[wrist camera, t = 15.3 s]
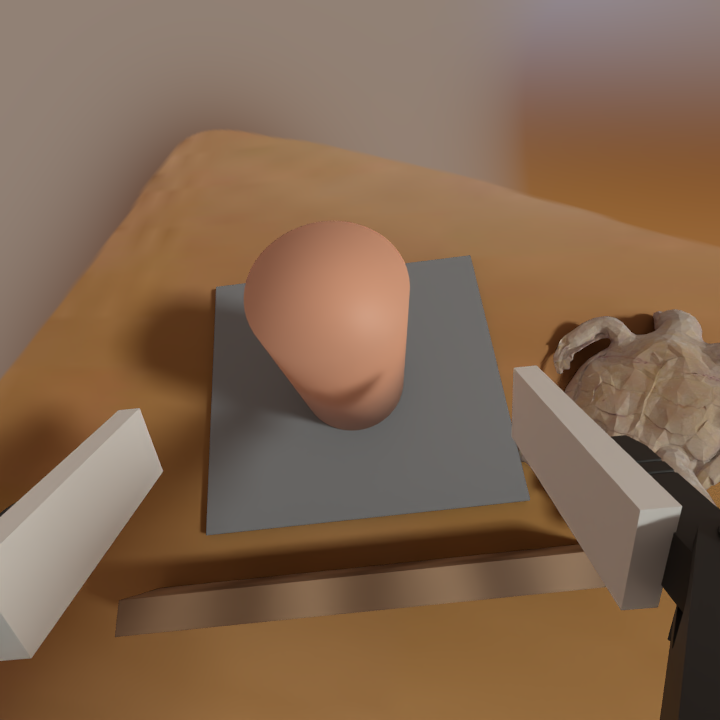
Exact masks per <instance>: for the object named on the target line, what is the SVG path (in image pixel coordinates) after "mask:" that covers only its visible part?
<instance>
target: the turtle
mask: <svg viewBox="0 0 720 720" xmlns="http://www.w3.org/2000/svg"><path fill="white" fill-rule="evenodd" d="M653 318H654V329H655V331H654V332H651V333H648V334H645V335H636V334H634V333H632V332H631V331H630V330H629V329H628V328H627V327H626V326H625V325H624V323H623V322H621V321H619V320H618V319H617V318H613V317H608V316H603V317H598V318H593V319H591V320H588V321H586V322H584V323H582V324H580V325H579V326H578V327H577V328H575V329H574V330H572V331H571V332H570V333H568V334H567V335H565V336H564V337H563V338H562V339H561V340H560V342H559V345H558V347H557V350H556V352H555V354H554V363H555V368H556V371H557V373H559V374H561V373H563V370H564V369H570V361H572V360H573V356H574V353H576V352H578V351H580V350H581V349H583V348H584V347H586V346H587V345H589V344H591V343H593V342H595V341H597V340H600V339H603V338H609V339H610V340H611V343H610V345H609V347H608V348H606V349H604V350H602V351H601V352H599V353H597V354H596V355H594V356H592V357H591V358H589V359H588V360H587V361H586V362H585V363H584V364H583V365H582V366H581V367H580V368H579V369H578V371H577V372H576V374H575V375H574V377H573V378H572V380H571V381H570V383H569V384H568V386H567V387H566V389H565V392H564V393H566V395H567V396H569V397H570V398H571V399H572V400H573V401H574V402H575V403H576V404H577V405H578V406H579V407H580V408H581V409H582V410H583V411H584V412H585V413H586V414H587V415H588V416H589V417H590V418H591V419H592V420H593V421H594V422H595V423H597V424H598V425H599V426H600V427H601V428H602V429H603V430H604V431H605V432H606V433H607V434H608V435H609V436H610V437H611V436H621V435H627V436H629V437H631V438H633V439H635V440H637V441H639V442H641V443H643V444H645V445H647V446H648V447H649V448H650V449H651V450H652V451H653V452H655V453H656V454H657V455H658V456H659V457H660V458H661V460H662V461H665V462H666V463H667V464H668V465H669V466H671V467H672V468H673V469H674V472H677V473H679V474H680V475H681V476H682V477H683V478H684V479H685V480H687V481H688V482H689V483H690V484H691V485H692V486H693V487H695V488H696V489H697V490H698V491H699V492H700V493H701V494H703V495H704V496H705V497H706V498H707V499H708V500H709V501H711V502H712V503H713V504H714V505H715V503H714V501H713V500H712V498H711V497H710V495H709V494H708V493H707V491H706V490H707V489H708V488H709V487H710V486H712V485H716V484H717V483H718V482H720V343H714V344H707V343H705V342H704V341H703V340H702V329H701V325H700V324H699V323H698V321H697V320H696V318H695V317H693V316H692V315H690V314H688V313H686V312H683V311H681V310H675V309H674V310H668V311H665V312H661V311H658V312H655V313H654V314H653ZM519 456H520V460H521V461H522V462H526V463H527V464H528V465H529V463H528V462H527V460H526V459H525V457H524V456H523V454H522V452H521V451H519ZM529 466H530V465H529ZM715 506H716V505H715ZM716 507H717V506H716Z"/></svg>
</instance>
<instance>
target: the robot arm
mask: <svg viewBox="0 0 720 720" xmlns="http://www.w3.org/2000/svg"><path fill="white" fill-rule="evenodd" d="M511 436H512V438H513V440H514V441H515V443H516V444H517V446H518V448H519V449H520V451H521V452H522V454H523V456H524V457H525V459H526V460H527V462H528V463H529V465H530V467H531V468H532V470H533V471H534V473H535V475H536V476H537V478H538V479H539V481H540V482H541V484H542V486H543V487H544V489H545V490H546V492H547V494H548V495H549V497H550V498H551V500H552V501H553V503H554V505H555V506H556V508H557V509H558V511H559V513H560V514H561V516H562V517H563V519H564V521H565V522H566V524H567V525H568V527H569V528H570V530H571V532H572V533H573V535H574V536H575V538H576V540H577V541H578V543H579V544H580V546H581V547H582V549H583V551H584V552H585V554H586V555H587V557H588V559H589V560H590V562H591V563H592V565H593V566H594V568H595V570H596V571H597V573H598V574H599V576H600V578H601V579H602V581H603V582H604V584H605V586H606V587H607V589H608V590H609V592H610V593H611V595H612V597H613V598H614V600H615V601H616V603H617V605H618V606H619V608H620V609H621V610H630V609H642V608H655V607H658V605H659V600H660V596H661V592H662V588H664V589H665V590H666V592H667V593H668V594H669V596H670V597H671V598H672V599H673V601H674V602H675V603H676V605H677V606H676V610H675V614H674V617H673V621H672V625H671V629H670V632H669V636H668V640H669V641H671V642H670V649H669V656H668V664H667V671H666V678H665V686H664V693H663V700H662V708H661V715H660V720H720V509H719V508H718V507H716V506H715V505H714V504H713V503H712V502H711V501H709V500H708V499H707V498H706V497H705V496H704V495H703V494H701V493H700V492H699V491H698V490H697V489H696V488H695V487H693V486H692V485H691V484H690V483H689V482H688V481H687V480H685V479H684V478H683V477H682V476H681V475H680V474H679V473H677V472H674V469H673V468H672V467H671V466H669V465H668V464H667V463H666V462H665V461H662V460H661V458H660V457H659V456H658V455H657V454H656V453H655V452H653V451H652V450H651V449H650V448H649V447H648V446H647V445H645V444H643V443H641V442H639V441H637V440H635V439H633V438H631V437H629V436H627V435H621V436H611V437H610V436H609V435H608V434H607V433H606V432H605V431H604V430H603V429H602V428H601V427H600V426H599V425H598V424H597V423H595V422H594V421H593V420H592V419H591V418H590V417H589V416H588V415H587V414H586V413H585V412H584V411H583V410H582V409H581V408H580V407H579V406H578V405H577V404H576V403H575V402H574V401H573V400H572V399H571V398H570V397H569V396H567V395H566V394H565V393H564V392H563V391H562V390H561V389H560V388H559V387H558V386H557V385H556V384H555V383H554V382H553V381H552V380H551V379H550V378H549V377H548V376H547V375H546V374H545V373H544V372H543V371H542V370H541V369H539V368H538V367H537V366H527V367H518V368H514V372H513V403H512V435H511ZM162 472H163V470H162V467H161V464H160V462H159V459H158V456H157V454H156V451H155V448H154V446H153V443H152V440H151V438H150V435H149V432H148V430H147V427H146V424H145V422H144V419H143V416H142V414H141V411H140V408H137V409H127V410H118V411H117V412H116V413H115V414H114V415H113V416H112V417H111V418H110V419H108V420H107V421H106V422H105V423H104V424H103V425H102V426H101V427H100V428H98V429H97V430H96V431H95V432H94V433H93V434H92V435H91V436H90V437H89V438H87V439H86V440H85V441H84V442H83V443H82V444H81V445H80V446H79V447H77V448H76V449H75V450H74V451H73V452H72V453H71V454H70V455H69V456H67V457H66V458H65V459H64V460H63V461H62V462H61V463H60V464H59V465H57V466H56V467H55V468H54V469H53V470H52V471H51V472H50V473H49V474H47V475H46V476H45V477H44V478H43V479H42V480H41V481H40V482H39V483H37V484H36V485H35V486H34V487H33V488H32V489H31V490H30V491H29V492H27V493H26V494H25V495H24V496H23V497H22V498H21V499H20V500H19V501H17V502H16V503H14V504H12V505H11V506H9V507H8V508H6V509H5V510H3V511H2V512H1V513H0V661H5V660H17V659H29V658H32V657H33V655H34V654H35V652H36V651H37V650H38V648H39V647H40V645H41V644H42V643H43V641H44V640H45V638H46V637H47V635H48V634H49V633H50V631H51V630H52V628H53V627H54V626H55V624H56V623H57V621H58V620H59V618H60V617H61V616H62V614H63V613H64V611H65V610H66V608H67V607H68V606H69V604H70V603H71V601H72V600H73V599H74V597H75V596H76V594H77V593H78V591H79V590H80V589H81V587H82V586H83V584H84V583H85V582H86V580H87V579H88V577H89V576H90V574H91V573H92V572H93V570H94V569H95V567H96V566H97V565H98V563H99V562H100V560H101V559H102V557H103V556H104V555H105V553H106V552H107V550H108V549H109V547H110V546H111V545H112V543H113V542H114V540H115V539H116V538H117V536H118V535H119V533H120V532H121V530H122V529H123V528H124V526H125V525H126V523H127V522H128V521H129V519H130V518H131V516H132V515H133V513H134V512H135V511H136V509H137V508H138V506H139V505H140V504H141V502H142V501H143V499H144V498H145V496H146V495H147V494H148V492H149V491H150V489H151V488H152V486H153V485H154V484H155V482H156V481H157V479H158V478H159V477H160V475H161V474H162Z"/></svg>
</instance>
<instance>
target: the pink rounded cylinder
mask: <svg viewBox="0 0 720 720" xmlns="http://www.w3.org/2000/svg"><path fill="white" fill-rule="evenodd" d="M409 295H410V281H409V275H408V271H407V267H406V265H405V262H404V260H403V258H402V257H401V255H400V253H399V252H398V250H397V249H396V248H395V247H394V246H393V244H391V243H390V242H389V241H388V240H387V239H386V238H385V237H383V236H382V235H380V234H379V233H377V232H376V231H374V230H372V229H370V228H367V227H365V226H362V225H359V224H355V223H351V222H344V221H322V222H316V223H311V224H307V225H304V226H301V227H298V228H296V229H293V230H291V231H289V232H287V233H286V234H284V235H282V236H281V237H279V238H278V239H276V240H275V241H274V242H272V243H271V244H270V245H269V246H268V247H267V248H266V249H265V250H264V251H263V252H262V253H261V254H260V256H259V257H258V258H257V260H256V261H255V263H254V264H253V266H252V268H251V270H250V272H249V275H248V277H247V280H246V284H245V288H244V309H245V314H246V318H247V321H248V323H249V326H250V327H251V329H252V331H253V333H254V334H255V336H256V337H257V338H258V340H259V341H260V342H261V344H262V345H263V346H264V348H265V349H266V350H267V352H268V353H269V354H270V356H271V357H272V358H273V360H274V361H275V362H276V364H277V365H278V366H279V368H280V369H281V370H282V372H283V373H284V374H285V376H286V377H287V378H288V380H289V381H290V382H291V384H292V385H293V386H294V388H295V389H296V390H297V392H298V393H299V394H300V396H301V397H302V398H303V400H304V401H305V402H306V404H307V405H308V406H309V408H310V409H311V410H312V412H313V413H314V414H315V415H316V416H317V417H318V418H319V419H320V420H321V421H323V422H324V423H326V424H328V425H330V426H332V427H334V428H337V429H342V430H350V431H353V430H362V429H366V428H369V427H372V426H374V425H376V424H378V423H380V422H381V421H383V420H384V419H385V418H387V417H388V416H389V415H390V414H391V413H392V411H393V410H394V409H395V407H396V406H397V404H398V402H399V400H400V398H401V395H402V391H403V383H404V368H405V353H406V339H407V324H408V309H409Z"/></svg>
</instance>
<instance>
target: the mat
mask: <svg viewBox="0 0 720 720" xmlns="http://www.w3.org/2000/svg"><path fill="white" fill-rule="evenodd" d="M405 265H406V267H407V271H408V275H409V281H410V295H409V309H408V324H407V339H406V353H405V368H404V383H403V391H402V395H401V398H400V400H399V402H398V404H397V406H396V407H395V409H394V410H393V411H392V413H391V414H390V415H389V416H388V417H387V418H385V419H384V420H383V421H381V422H380V423H378V424H376V425H374V426H372V427H369V428H366V429H362V430H353V431H350V430H342V429H337V428H334V427H332V426H330V425H328V424H326V423H324V422H323V421H321V420H320V419H319V418H318V417H317V416H316V415H315V414H314V413H313V412H312V410H311V409H310V408H309V406H308V405H307V404H306V402H305V401H304V400H303V398H302V397H301V396H300V394H299V393H298V392H297V390H296V389H295V388H294V386H293V385H292V384H291V382H290V381H289V380H288V378H287V377H286V376H285V374H284V373H283V372H282V370H281V369H280V368H279V366H278V365H277V364H276V362H275V361H274V360H273V358H272V357H271V356H270V354H269V353H268V352H267V350H266V349H265V348H264V346H263V345H262V344H261V342H260V341H259V340H258V338H257V337H256V336H255V334H254V333H253V331H252V329H251V327H250V326H249V323H248V321H247V318H246V314H245V309H244V288H245V284H246V283H245V284H237V285H229V286H221V287H216V305H215V330H214V354H213V379H212V404H211V428H210V453H209V477H208V502H207V526H206V535H214V534H223V533H232V532H242V531H251V530H260V529H269V528H279V527H288V526H297V525H306V524H316V523H325V522H334V521H343V520H353V519H362V518H371V517H381V516H390V515H399V514H408V513H418V512H427V511H436V510H445V509H455V508H464V507H473V506H482V505H492V504H501V503H510V502H519V501H528V500H530V497H529V493H528V489H527V485H526V481H525V477H524V473H523V469H522V464H521V460H520V456H519V452H518V448H517V444H516V443H515V441H514V440H513V438H512V436H511V435H512V424H511V420H510V415H509V411H508V407H507V403H506V399H505V395H504V391H503V387H502V383H501V379H500V375H499V371H498V367H497V362H496V358H495V354H494V350H493V346H492V342H491V338H490V334H489V330H488V326H487V322H486V318H485V314H484V309H483V305H482V301H481V297H480V293H479V289H478V285H477V281H476V277H475V273H474V269H473V265H472V261H471V256H470V255H469V256H461V257H453V258H445V259H437V260H429V261H421V262H413V263H405Z"/></svg>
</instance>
